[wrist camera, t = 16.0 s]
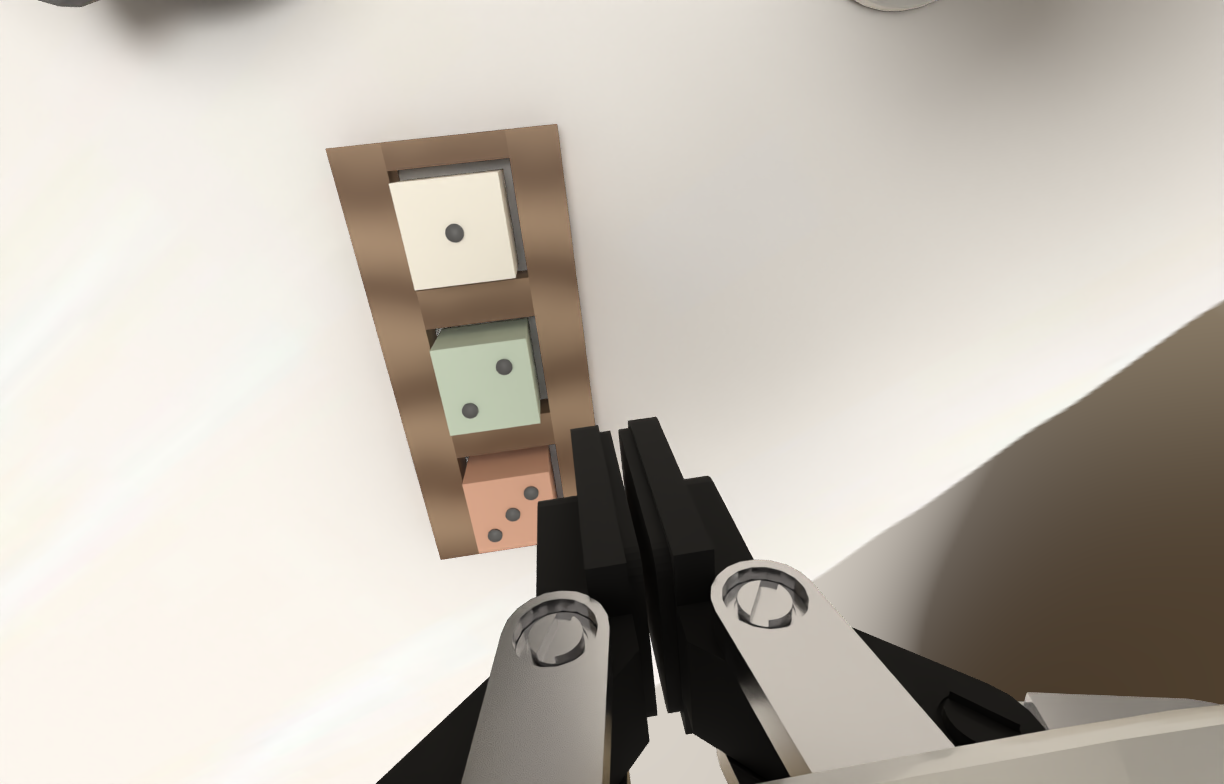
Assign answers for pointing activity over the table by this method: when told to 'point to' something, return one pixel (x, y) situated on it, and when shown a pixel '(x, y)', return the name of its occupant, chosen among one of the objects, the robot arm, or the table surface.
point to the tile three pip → (507, 496)
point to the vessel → (70, 2)
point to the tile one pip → (456, 229)
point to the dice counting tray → (469, 308)
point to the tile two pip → (487, 376)
